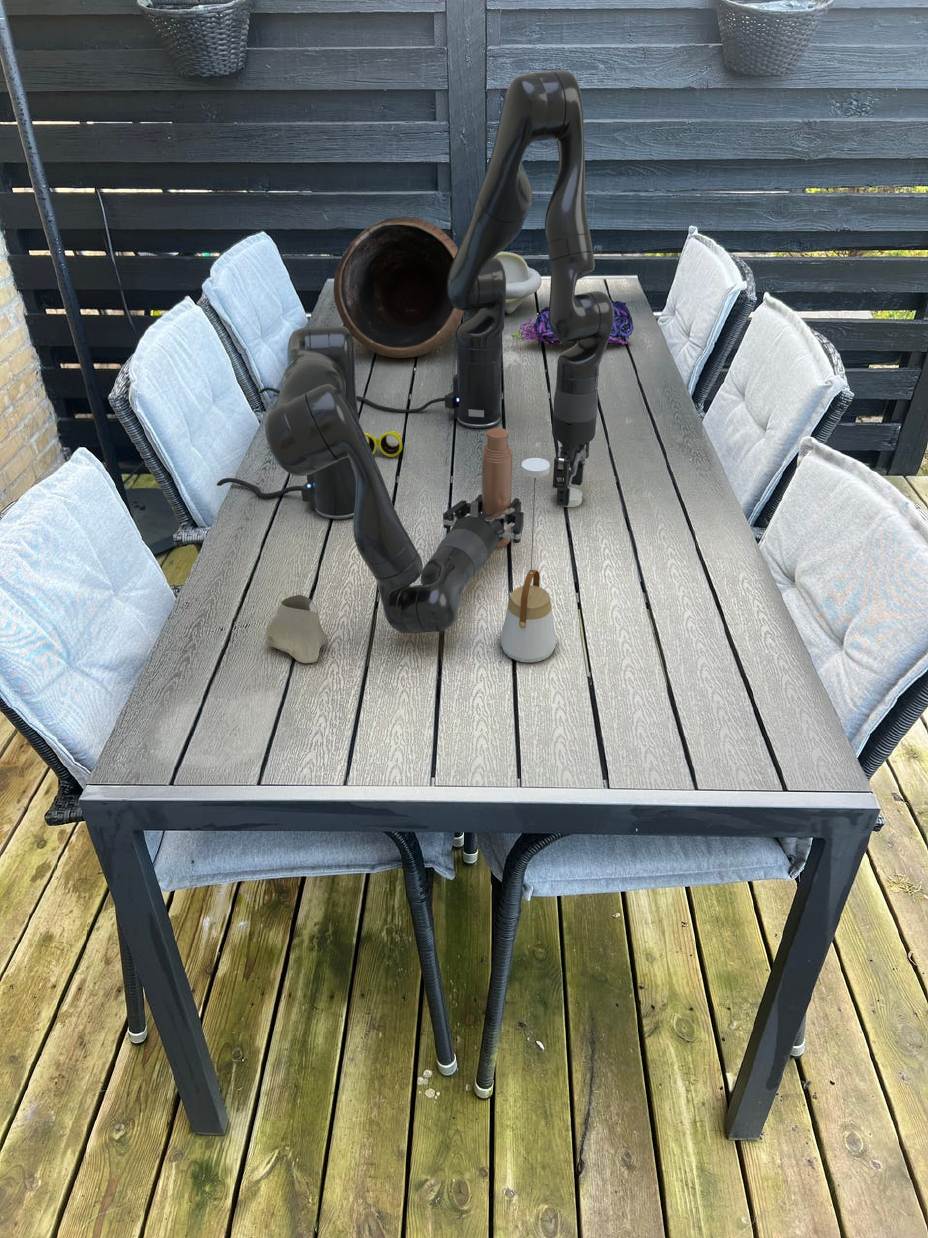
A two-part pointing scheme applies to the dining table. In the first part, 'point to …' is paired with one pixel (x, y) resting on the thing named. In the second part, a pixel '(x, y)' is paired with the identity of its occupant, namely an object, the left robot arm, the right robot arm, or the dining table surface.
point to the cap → (574, 498)
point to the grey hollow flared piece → (297, 629)
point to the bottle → (497, 475)
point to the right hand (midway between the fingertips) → (569, 494)
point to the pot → (397, 288)
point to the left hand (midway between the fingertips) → (501, 499)
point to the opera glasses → (385, 444)
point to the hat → (518, 280)
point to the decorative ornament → (545, 335)
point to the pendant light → (529, 603)
